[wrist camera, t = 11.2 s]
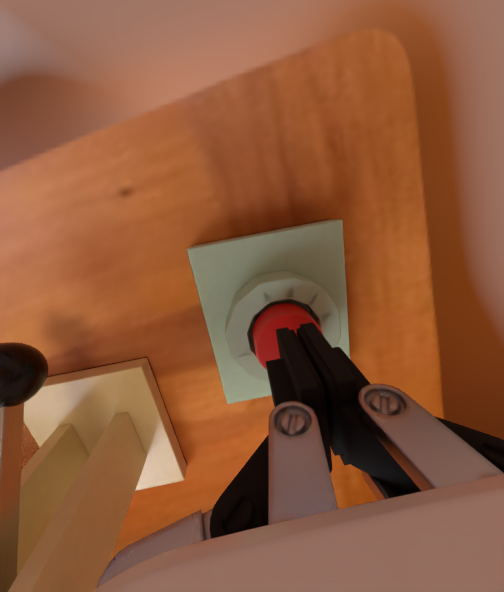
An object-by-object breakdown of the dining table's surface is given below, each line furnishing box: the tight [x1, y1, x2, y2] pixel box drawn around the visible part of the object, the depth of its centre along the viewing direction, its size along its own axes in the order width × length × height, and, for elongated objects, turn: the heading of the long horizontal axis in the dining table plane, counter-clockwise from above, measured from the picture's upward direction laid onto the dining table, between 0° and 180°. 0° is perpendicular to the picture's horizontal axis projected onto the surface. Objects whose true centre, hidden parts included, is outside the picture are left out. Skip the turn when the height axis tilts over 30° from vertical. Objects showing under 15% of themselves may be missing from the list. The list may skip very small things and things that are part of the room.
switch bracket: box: [8, 358, 187, 592], centre depth 13 cm, size 11×9×12 cm
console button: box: [253, 303, 323, 370], centre depth 13 cm, size 4×4×2 cm
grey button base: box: [187, 220, 350, 404], centre depth 15 cm, size 11×9×4 cm
